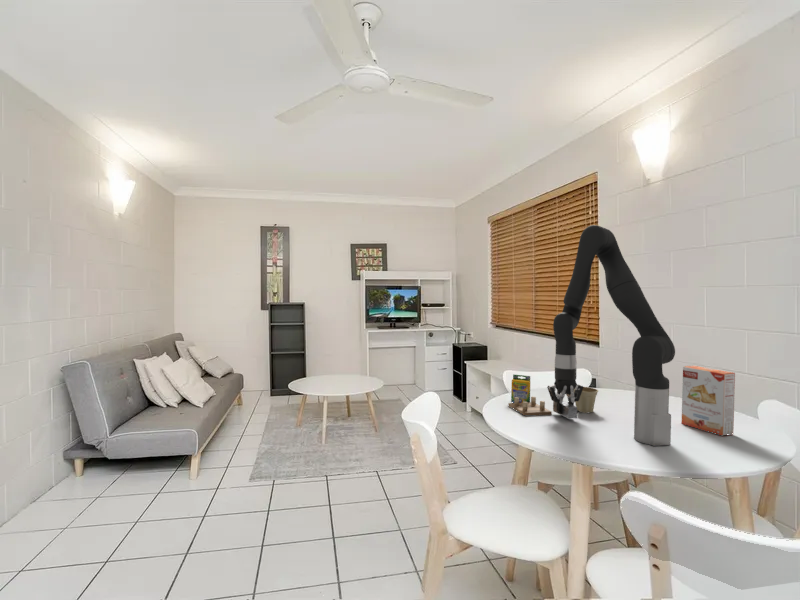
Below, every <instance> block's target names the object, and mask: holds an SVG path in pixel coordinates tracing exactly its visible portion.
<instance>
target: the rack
mask: <svg viewBox="0 0 800 600" xmlns="http://www.w3.org/2000/svg"><path fill="white" fill-rule="evenodd" d="M536 401H537V397H536V396H530V402H523V403H519V398H518V397H515V399H514V403H511V402H508V405H509V406H510V407H509V406H508V407H509V408H511V407H512V408H514V409H515V410H514V409H513V410H514V411H516V410H517V411H519V412H520V413H519V412H518V413H519V414H521V413H522V414H523V415H522V414H521V415H522V416H524V415H536V416H551V415H552V413H553V412H552V411H551V410H549V409H548V408H546V401H544V400H540V401H539V404H538V403H537V402H536ZM512 408H511V409H512ZM517 411H516V412H517Z"/></svg>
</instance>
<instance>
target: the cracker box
mask: <svg viewBox="0 0 800 600" xmlns="http://www.w3.org/2000/svg"><path fill="white" fill-rule="evenodd" d="M735 383H736V373H735V372H731V371H727V370H720V369H714V368H710V367H709V368H708V367H702V366H698V365H685V366H683V367H682V390H681V393H682V396H681V425H685V426H687V425H688V427H692V428H694V427H695V429H697V428H698V430H700V429H702V430H701V431H703V430H705V431H704V432H707V431H709V432H708V433H710V432H713V433H716V434H719V435H718V436H720V435H727V434H732V433H733V434H734V421H735V390H736V389H735V388H736V384H735ZM713 433H712V434H713ZM716 434H715V435H716ZM733 434H732V435H733ZM727 436H728V435H727Z"/></svg>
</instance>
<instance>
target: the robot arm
mask: <svg viewBox="0 0 800 600" xmlns="http://www.w3.org/2000/svg"><path fill="white" fill-rule="evenodd" d="M620 249H621V248H620V246H619V244H618V241H617V237H615V234H614V233H613V232H612V231H611V230H610V229H608V228H605V227H603V226H600V225H596V224H592V225H588V226H587V227H586V228H584V230H583V231H582V232H581V234H580V237H579V241H578V247H577V252H576V256H575V260H574V261H575V262H574V267H573V269H572V270H573V271H572V274H571V276H570V277H571V278H570V281H569V283H568V286H567V289H566V292H565V295H564V298H563V304H564V306H563V308H562V311H561V312H560V313H558V314H556V316H555V317H554V319H553V324H552V325H553V333H554V334H553V335H554V339H555V356H554V382H553V384H552V385H547V387H546V389H547V390H548V394H549V395H550V399H551V401H552V402H553V401H555V402H556V403H557V411H558V413H560V414H562V413H563V404H562V402H563V401H564V399H565V396H566V397H567V403H569V404H571V405H574V406H575V402H576V401H579V399H580V396H581V393H582V390H583V387H584V386H583V385H582V384H577V381H576V380H577V364H578V363H577V344H576V340H575V339H574V330H575V329H576V328H577V327H578V326H579V322H580V319H581V316H582V312H583V306H584V305H585V301H586V299H587V298H588V297H587V296H588V293H589V291H590V286H591V273H592V266H593V262H594V259H595V257H597V259H598V260H599V262H600V263H601V266H602V268H603V270H604V275H605V278H604V279H605V284H606V285H605V286H606V290H607V293H608V294H609V296H610V298H611V300H612V302H613V304H614V305H615V307H616V308H617V309H618V311H619V312H620V313H621V314H622V315H624V316H625V317H626V318H627V319H628V320H629V322H630V323H632V325H633V326H634V327H635V328H636V330H637V332H638V333H639V336H640V337H638V338H636V340H635V341H634V342H633V345H632V352H631V359H632V360H631V361H632V362H631V363H632V365H631V366H632V375H633V378H634V382H635V383H634V388H635V389H634V420H633V422H634V427H633V428H634V429H633V439H634V440H635V441H637V442H639V443H641V444H644V445H645V444H646V445H651V446H653V447H656V446H657V447H659V446H670V445H671V442H672V441H671V439H672V438H671V436H672V414H671V413H670V412H669V411H670V409H669V407H670V405H669V404H670V379H669V378H668V377H666V376H664V371H663V365H664V364H665V365H666V364H668V363H671V362H672V361H673V360H674V358H675V355H676V348H675V345H674V342H673V341H672V339H671V338H670V336H669V335H668V333H667V332H666V330H665V329H664V327H663V326H662V324H661V323H660V322H659V320H658V318H657V317H656V315H655V313H654V311H653V309H652V308H651V307H652V306H651V305H650V303H649V302H648V300H647V298H646V297H645V294H644V292H643V290H642V288H641V285H639V282H638V281H637V279H636V277H635V276H634V273H633V272H632V270H631V268H630V266H629V265H628V263H627V262H626V260H625V259H624V256H623V254H622V252H621V250H620ZM574 389H575V392H574V391H573V390H574ZM558 413H557V414H558ZM560 414H559V415H560Z"/></svg>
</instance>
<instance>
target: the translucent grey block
mask: <svg viewBox="0 0 800 600" xmlns="http://www.w3.org/2000/svg"><path fill="white" fill-rule="evenodd" d="M552 402H553V403H552V404H553V405H552V411H553V412H554V413H556V414H558V415H560V416H561V417H562V416H563V417H564V418H566V419H571V420H572V419H578V411H577V407H576V405H575V404H574V405H571V404H569V403H568V401H564V400H563V402H562V404H563V413H562V414H560V413H558V411H557V403H556V402H555V401H552Z"/></svg>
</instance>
